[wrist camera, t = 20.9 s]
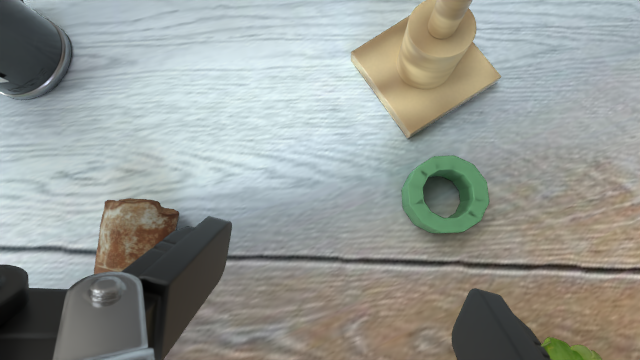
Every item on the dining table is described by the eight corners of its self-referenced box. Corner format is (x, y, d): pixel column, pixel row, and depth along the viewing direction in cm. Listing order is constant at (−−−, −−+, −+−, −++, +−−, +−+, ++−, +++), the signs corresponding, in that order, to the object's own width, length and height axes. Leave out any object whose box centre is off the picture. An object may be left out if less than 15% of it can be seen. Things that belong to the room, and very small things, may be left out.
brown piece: (192, 206, 31) (160, 201, 25) (144, 418, 28) (96, 464, 23) (133, 197, 32) (88, 189, 26) (80, 403, 29) (18, 443, 23)
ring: (388, 187, 30) (393, 182, 27) (445, 151, 30) (456, 141, 27) (428, 246, 29) (438, 248, 25) (487, 208, 29) (505, 205, 26)
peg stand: (350, 60, 32) (353, -33, 21) (432, 8, 32) (478, -110, 21) (407, 139, 30) (444, 83, 19) (494, 84, 31) (580, -3, 19)
